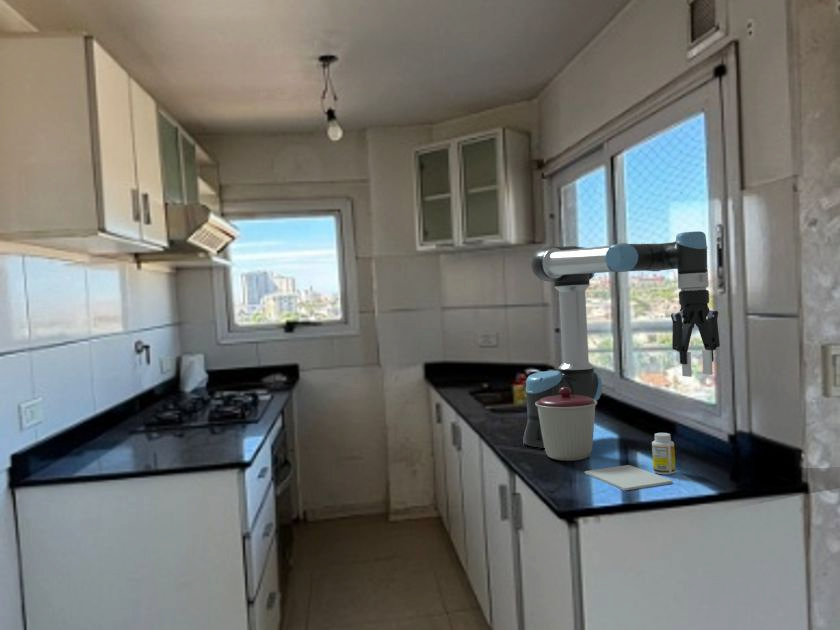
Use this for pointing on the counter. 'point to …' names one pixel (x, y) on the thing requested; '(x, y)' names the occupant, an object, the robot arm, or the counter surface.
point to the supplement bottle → (663, 454)
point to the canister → (567, 425)
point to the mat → (628, 477)
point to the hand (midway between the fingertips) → (697, 375)
